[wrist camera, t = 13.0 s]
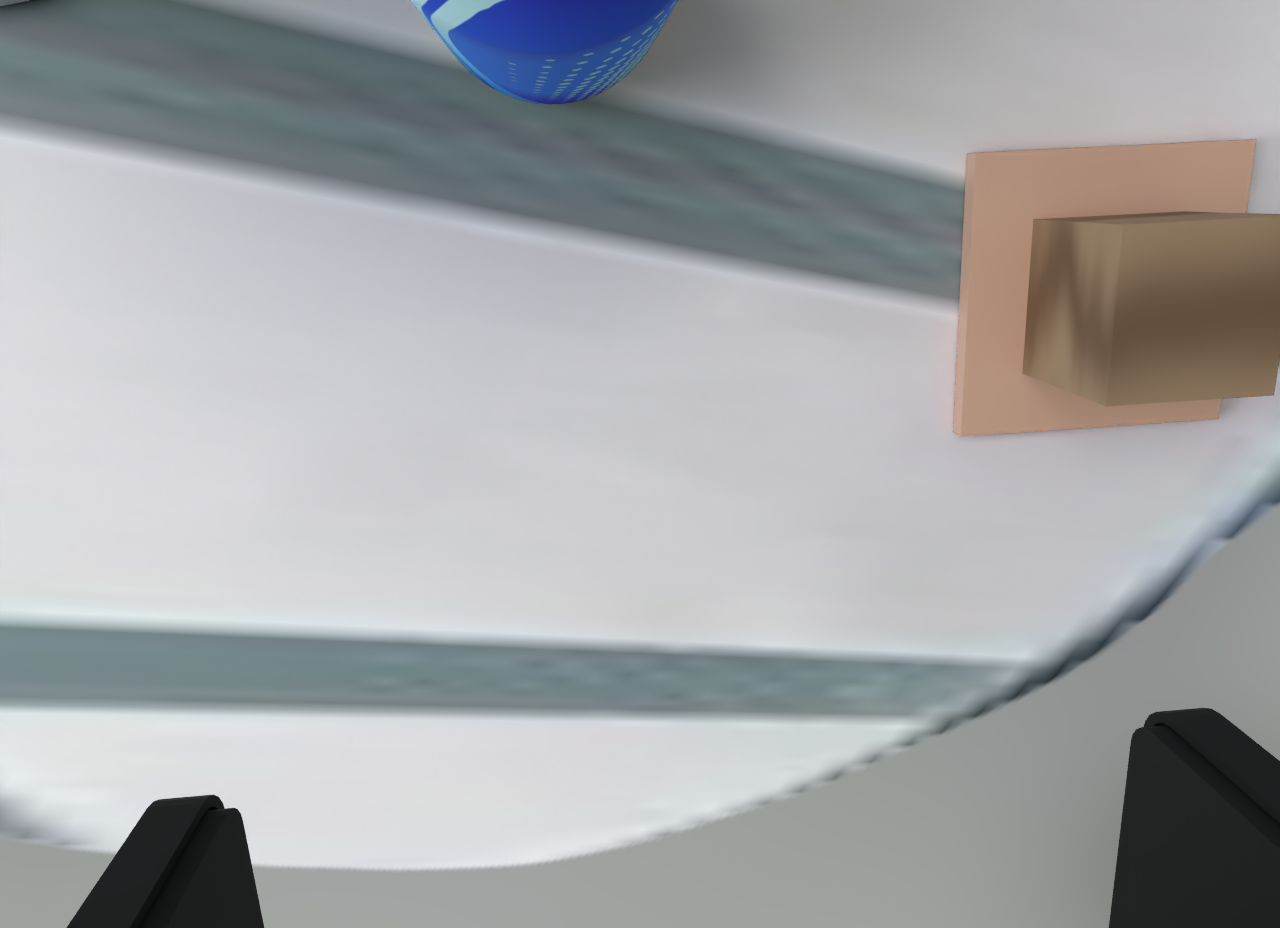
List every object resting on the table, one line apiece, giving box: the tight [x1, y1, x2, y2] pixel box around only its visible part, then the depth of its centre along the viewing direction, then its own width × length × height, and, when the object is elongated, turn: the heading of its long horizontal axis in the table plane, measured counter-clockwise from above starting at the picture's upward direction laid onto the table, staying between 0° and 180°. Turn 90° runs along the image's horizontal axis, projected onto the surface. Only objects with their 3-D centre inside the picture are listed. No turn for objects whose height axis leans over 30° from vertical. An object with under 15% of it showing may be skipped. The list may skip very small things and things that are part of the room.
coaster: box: [953, 139, 1256, 437], centre depth 37 cm, size 11×11×1 cm
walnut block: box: [1022, 211, 1280, 406], centre depth 34 cm, size 6×6×6 cm
